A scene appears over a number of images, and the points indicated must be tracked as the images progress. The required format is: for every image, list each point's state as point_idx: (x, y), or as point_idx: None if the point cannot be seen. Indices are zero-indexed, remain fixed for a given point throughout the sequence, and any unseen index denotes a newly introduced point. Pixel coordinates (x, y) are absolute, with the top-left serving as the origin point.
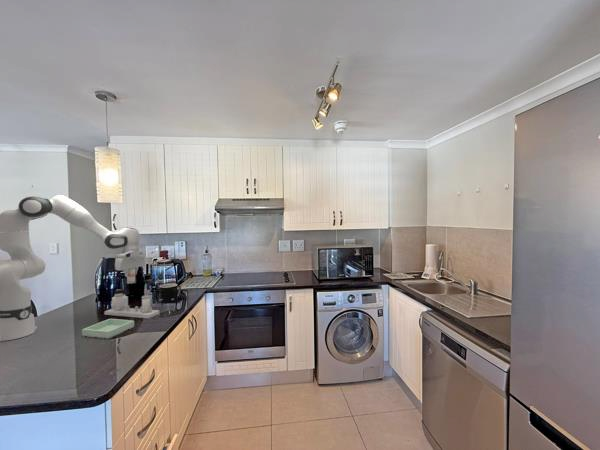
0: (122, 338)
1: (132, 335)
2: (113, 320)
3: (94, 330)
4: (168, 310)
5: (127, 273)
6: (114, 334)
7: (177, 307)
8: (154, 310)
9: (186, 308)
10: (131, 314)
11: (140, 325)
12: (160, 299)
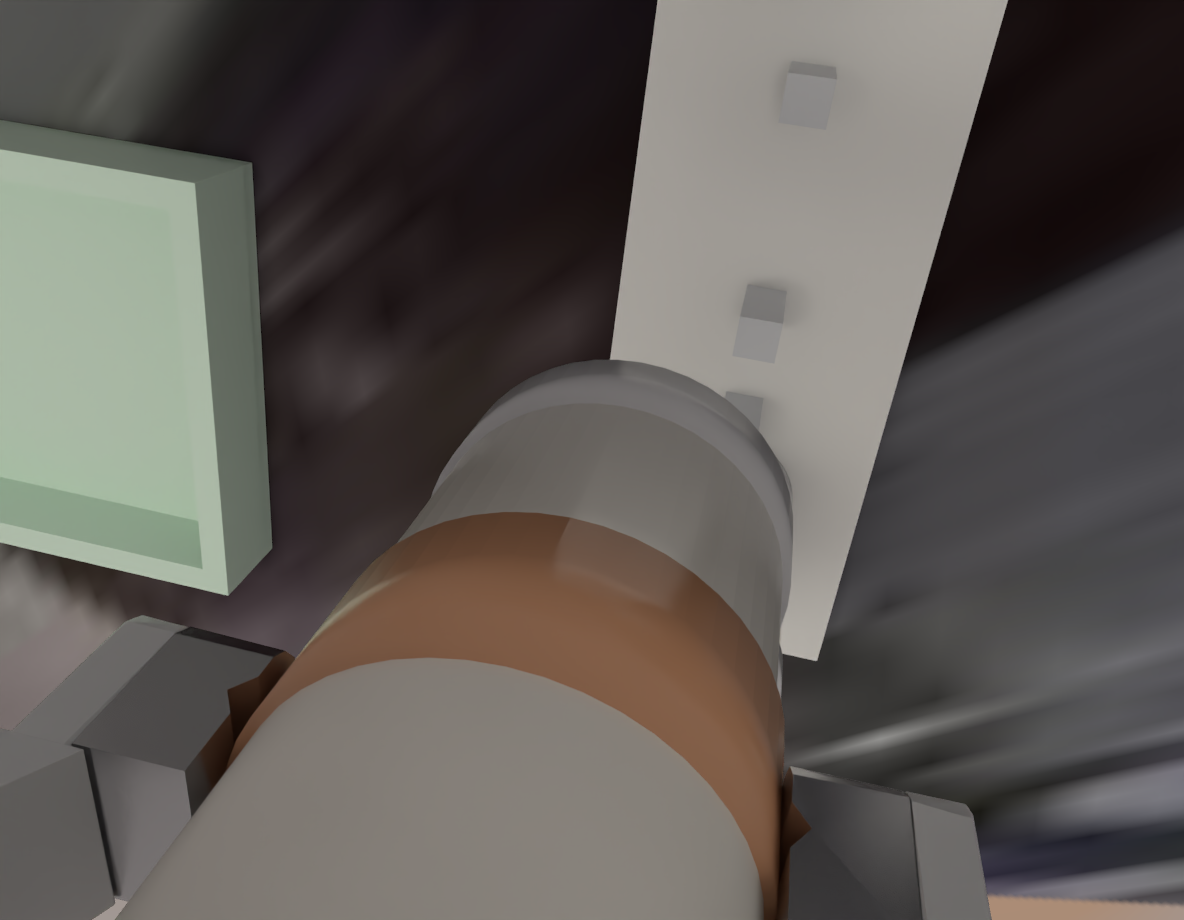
0: (2, 592)
1: (87, 644)
2: (185, 279)
3: None
4: (981, 696)
5: (52, 895)
6: None
7: (1154, 772)
8: (810, 591)
9: (1069, 894)
10: (623, 289)
11: (333, 592)
12: None
